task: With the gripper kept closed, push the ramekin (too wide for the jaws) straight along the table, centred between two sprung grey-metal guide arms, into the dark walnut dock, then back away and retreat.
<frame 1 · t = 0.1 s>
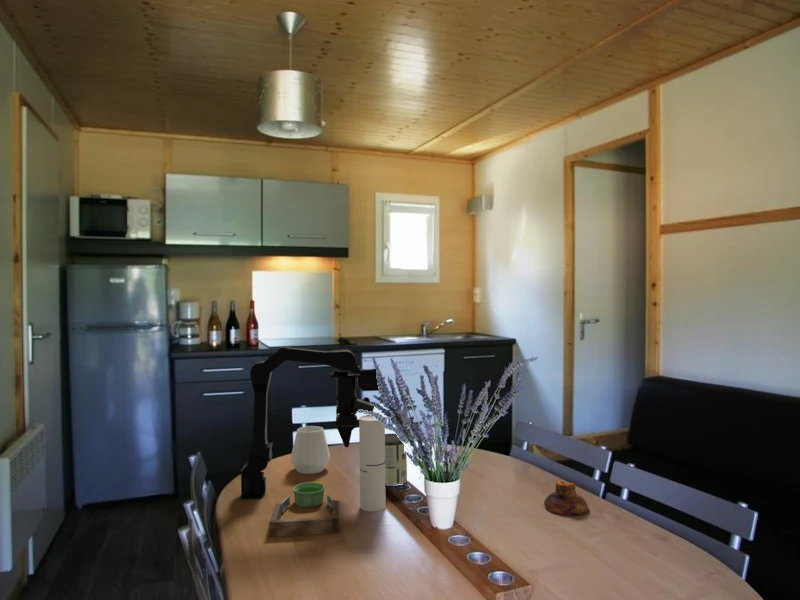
hand: (346, 442, 169), 14 cm above the table, fingers open, 9 cm apart
cup: (310, 470, 190), on the table
brown rounded necked piece: (566, 509, 154), on the table
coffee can: (391, 482, 177), on the table
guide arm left: (285, 505, 154), point 1 cm above the table, hinge at 0.0°
cylindrical container: (372, 507, 156), on the table
ramekin: (309, 503, 160), on the table
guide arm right: (330, 502, 155), point 1 cm above the table, hinge at 0.0°
walnut dock: (306, 523, 145), on the table
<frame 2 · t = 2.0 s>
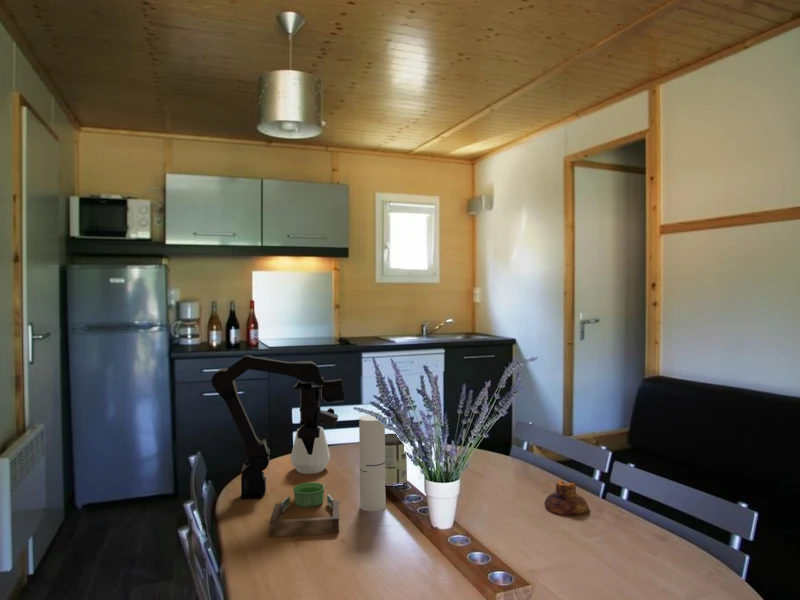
hand: (310, 454, 169), 11 cm above the table, fingers closed
nothing on the table moved.
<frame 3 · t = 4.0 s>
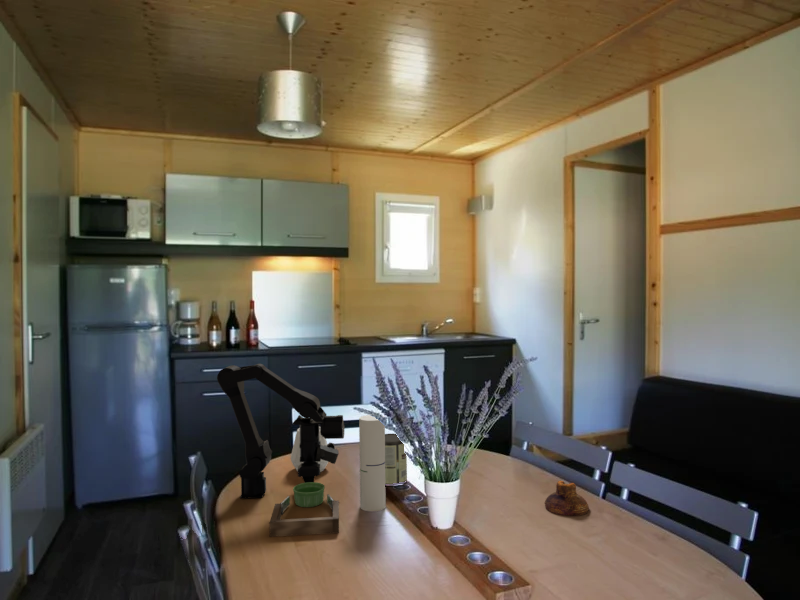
hand: (310, 490, 166), 1 cm above the table, fingers closed
ramekin: (309, 503, 160), on the table, touching gripper
everything else where it was.
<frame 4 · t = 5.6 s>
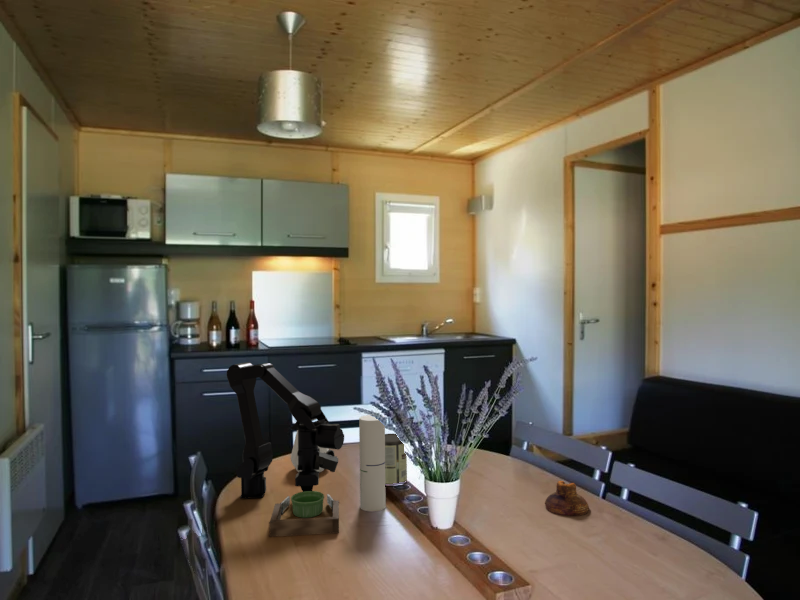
hand: (308, 500, 159), 1 cm above the table, fingers closed
ramekin: (307, 513, 152), on the table, touching gripper
everything else where it was.
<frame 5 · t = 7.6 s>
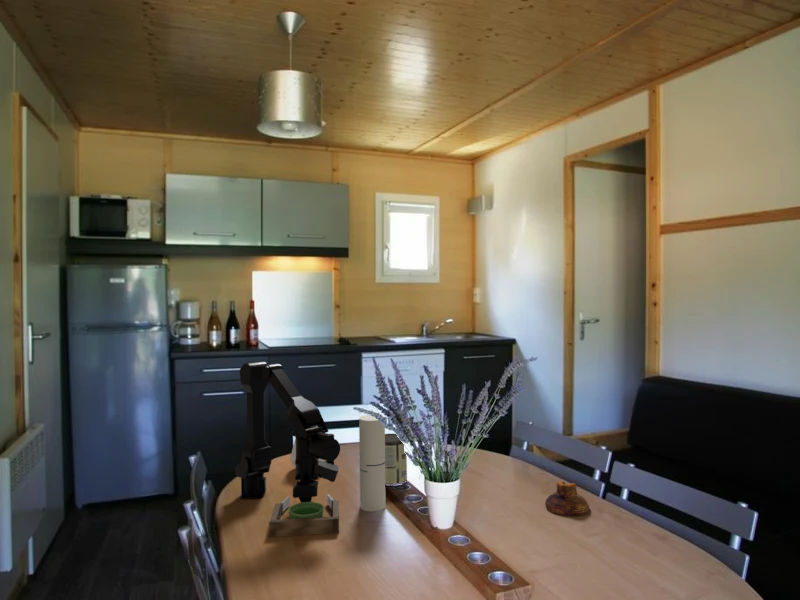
hand: (307, 511, 151), 1 cm above the table, fingers closed
ramekin: (306, 525, 144), on the table, touching gripper, walnut dock
everything else where it was.
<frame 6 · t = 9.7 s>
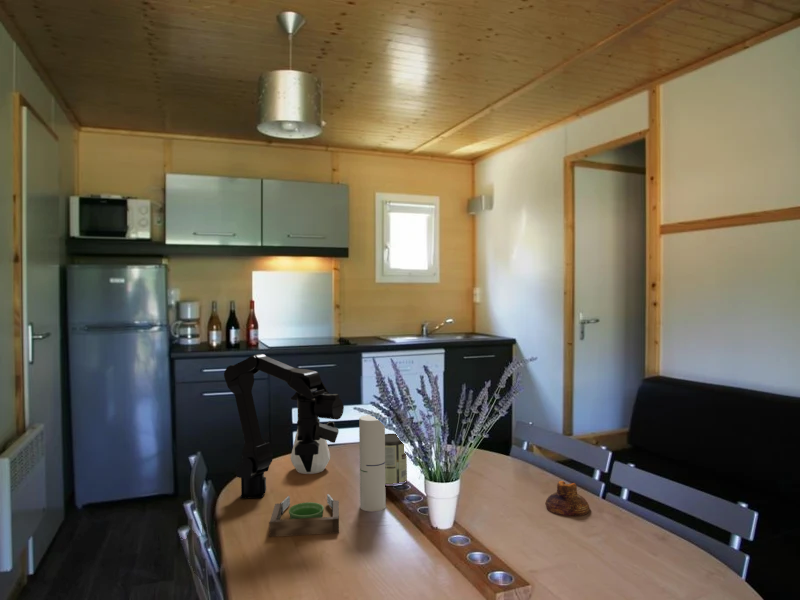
hand: (308, 471, 157), 10 cm above the table, fingers closed
ramekin: (306, 526, 144), on the table
everything else where it was.
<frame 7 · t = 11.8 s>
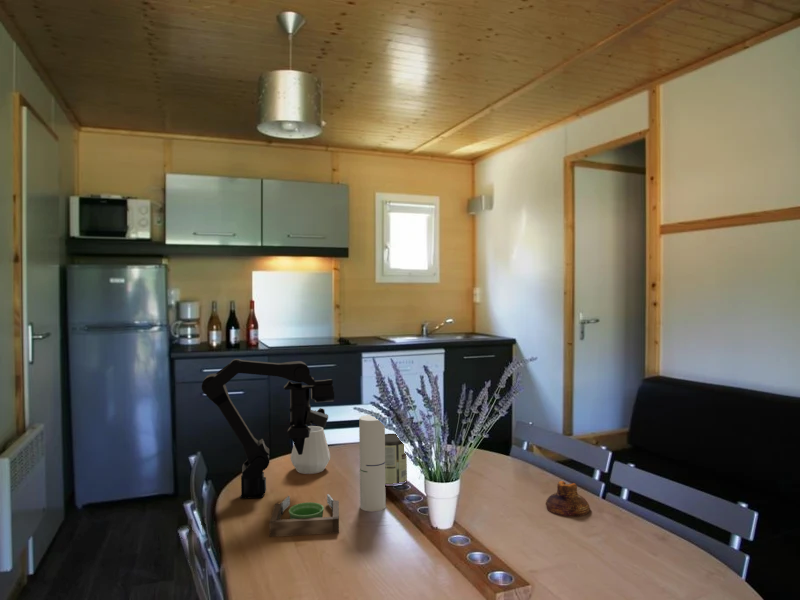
hand: (300, 454, 170), 11 cm above the table, fingers closed
nothing on the table moved.
at the end: ramekin inside the target area (0.5 cm from its centre), on the table; ramekin tilted 0° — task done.
